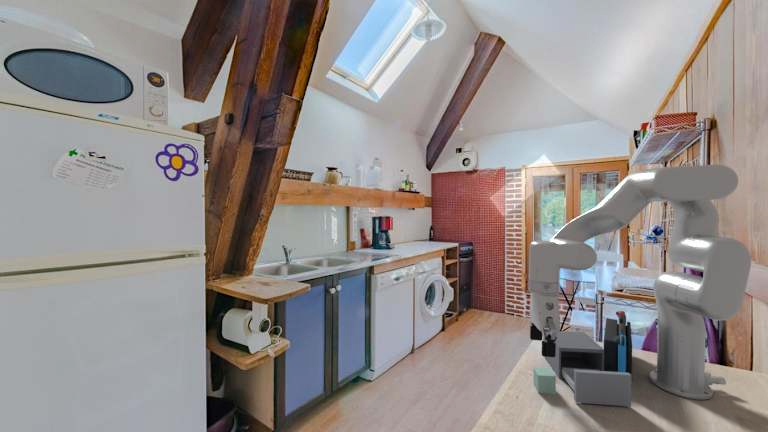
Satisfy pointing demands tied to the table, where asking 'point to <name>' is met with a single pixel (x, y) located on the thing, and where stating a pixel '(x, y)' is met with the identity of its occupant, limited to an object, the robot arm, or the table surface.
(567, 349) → the grey box
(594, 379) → the drawer
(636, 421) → the table surface
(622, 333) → the game console
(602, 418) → the table surface
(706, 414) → the table surface
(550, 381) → the block
